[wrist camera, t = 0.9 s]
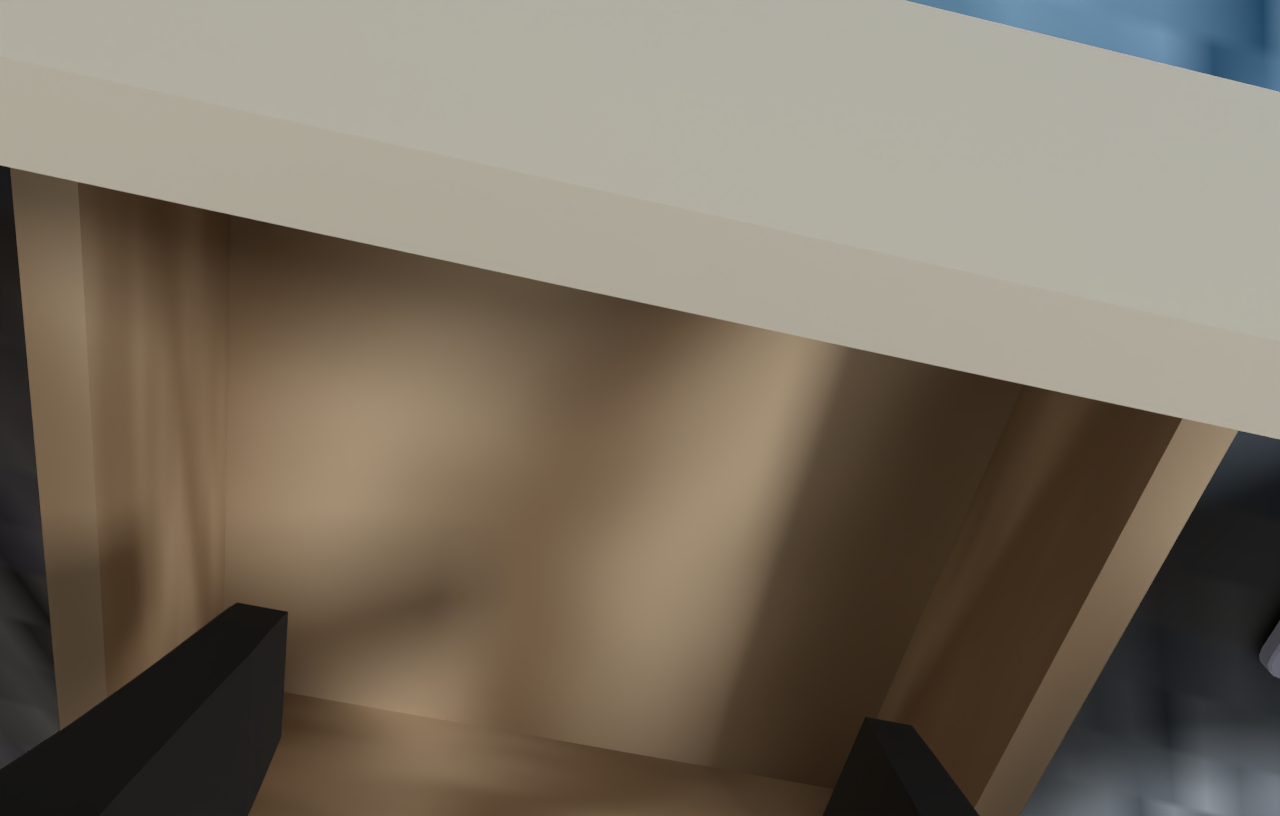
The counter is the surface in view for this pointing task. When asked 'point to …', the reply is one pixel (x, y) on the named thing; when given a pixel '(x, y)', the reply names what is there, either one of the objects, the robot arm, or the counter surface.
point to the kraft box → (563, 523)
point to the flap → (717, 167)
